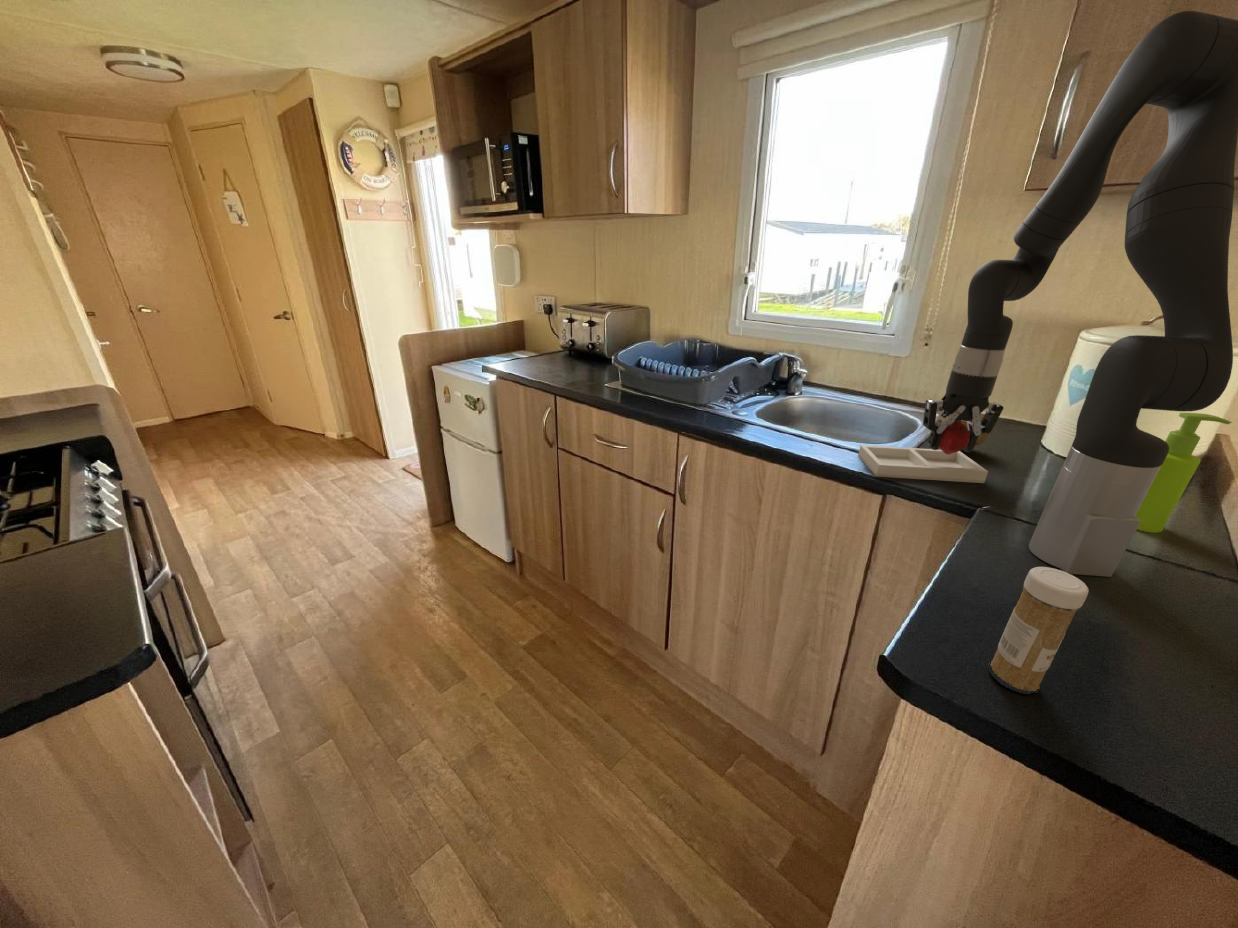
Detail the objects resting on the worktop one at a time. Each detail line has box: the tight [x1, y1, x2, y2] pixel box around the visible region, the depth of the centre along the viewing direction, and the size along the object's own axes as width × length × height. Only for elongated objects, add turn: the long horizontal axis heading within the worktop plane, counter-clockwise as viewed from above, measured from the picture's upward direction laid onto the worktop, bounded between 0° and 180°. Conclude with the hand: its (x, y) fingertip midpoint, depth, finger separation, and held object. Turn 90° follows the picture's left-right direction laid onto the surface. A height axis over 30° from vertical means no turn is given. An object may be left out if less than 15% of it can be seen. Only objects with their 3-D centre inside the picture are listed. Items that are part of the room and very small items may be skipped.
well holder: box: [857, 444, 989, 484], centre depth 104 cm, size 11×21×3 cm, turn 84°
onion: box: [938, 420, 970, 454], centre depth 101 cm, size 6×6×8 cm
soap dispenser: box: [1135, 412, 1233, 534], centre depth 80 cm, size 6×7×20 cm
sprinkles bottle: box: [989, 566, 1089, 692], centre depth 50 cm, size 5×5×13 cm
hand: (949, 449), depth 102 cm, fingers closed on onion, 5 cm apart
